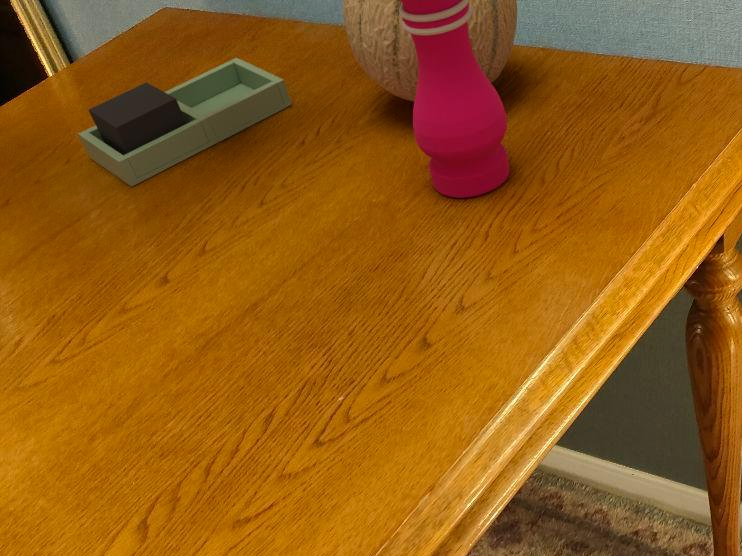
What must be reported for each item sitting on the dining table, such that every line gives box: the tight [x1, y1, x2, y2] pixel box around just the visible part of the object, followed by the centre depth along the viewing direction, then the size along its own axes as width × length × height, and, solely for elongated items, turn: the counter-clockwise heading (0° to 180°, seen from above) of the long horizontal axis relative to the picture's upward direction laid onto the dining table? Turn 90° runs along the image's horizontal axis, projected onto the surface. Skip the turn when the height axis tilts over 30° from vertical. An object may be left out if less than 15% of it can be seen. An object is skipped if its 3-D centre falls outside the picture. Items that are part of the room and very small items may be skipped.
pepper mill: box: [399, 0, 511, 199], centre depth 73 cm, size 7×7×20 cm
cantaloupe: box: [342, 0, 518, 103], centre depth 85 cm, size 15×15×15 cm
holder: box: [77, 57, 293, 188], centre depth 93 cm, size 17×9×2 cm, turn 132°
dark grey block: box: [88, 82, 187, 156], centre depth 90 cm, size 6×6×4 cm
